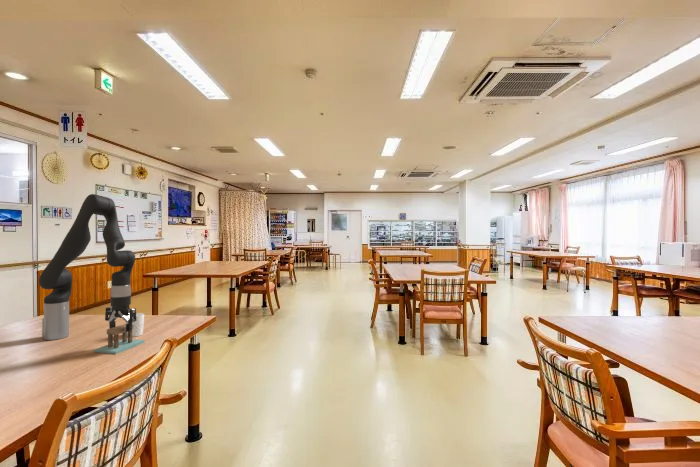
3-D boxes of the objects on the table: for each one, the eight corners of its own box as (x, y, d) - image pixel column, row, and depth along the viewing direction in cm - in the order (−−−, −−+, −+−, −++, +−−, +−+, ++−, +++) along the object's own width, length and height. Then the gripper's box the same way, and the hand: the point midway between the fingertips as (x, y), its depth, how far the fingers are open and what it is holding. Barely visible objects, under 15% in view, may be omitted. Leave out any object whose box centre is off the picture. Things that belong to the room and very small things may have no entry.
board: (94, 351, 141) (94, 349, 141) (124, 340, 156) (124, 338, 156) (115, 354, 139) (115, 351, 139) (144, 342, 154) (144, 340, 154)
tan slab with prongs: (124, 341, 153) (124, 323, 153) (133, 341, 152) (133, 324, 152) (106, 347, 144) (106, 329, 144) (116, 348, 143) (116, 330, 143)
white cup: (135, 337, 160) (135, 317, 160) (121, 336, 162) (121, 316, 162) (147, 333, 168) (148, 313, 168) (134, 331, 170) (135, 312, 170)
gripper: (141, 294, 150) (140, 329, 150) (115, 292, 153) (114, 327, 153) (127, 297, 143) (126, 334, 143) (99, 295, 145) (99, 332, 145)
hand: (120, 330), depth 148 cm, fingers open, 8 cm apart
